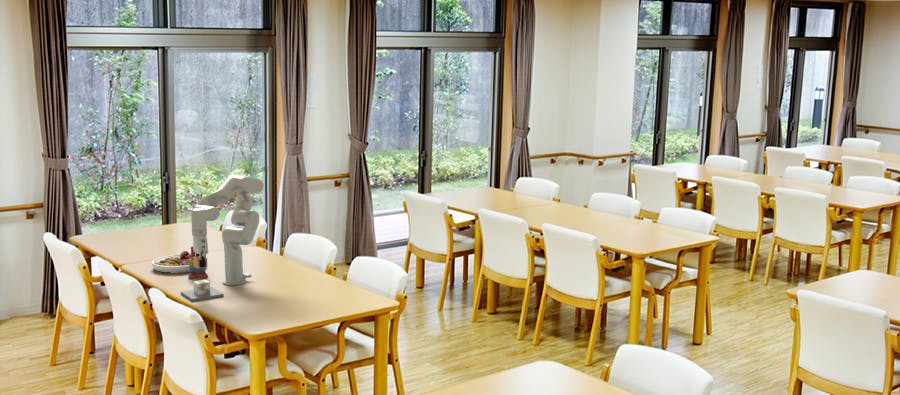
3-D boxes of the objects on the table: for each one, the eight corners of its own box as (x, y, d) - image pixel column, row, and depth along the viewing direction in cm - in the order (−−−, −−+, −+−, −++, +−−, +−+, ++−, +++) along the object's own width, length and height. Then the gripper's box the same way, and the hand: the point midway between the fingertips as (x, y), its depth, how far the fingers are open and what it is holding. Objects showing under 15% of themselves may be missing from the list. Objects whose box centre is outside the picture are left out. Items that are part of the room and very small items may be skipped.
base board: (211, 289, 502) (211, 286, 502) (223, 296, 488) (223, 293, 488) (180, 294, 492) (180, 291, 492) (192, 301, 479) (191, 298, 478)
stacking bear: (188, 279, 522) (186, 248, 519) (188, 275, 532) (186, 244, 529) (208, 278, 525) (206, 247, 522) (207, 273, 535) (206, 243, 532)
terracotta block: (203, 265, 491) (203, 255, 490) (207, 267, 487) (207, 257, 486) (193, 266, 488) (193, 257, 487) (197, 268, 484) (196, 259, 483)
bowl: (197, 275, 533) (197, 261, 532) (145, 274, 533) (144, 261, 532) (211, 262, 563) (210, 249, 561) (161, 262, 563) (160, 249, 562)
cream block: (205, 290, 495) (205, 279, 494) (210, 293, 489) (209, 282, 488) (193, 292, 491) (193, 281, 490) (198, 295, 486) (197, 283, 485)
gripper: (212, 234, 480) (213, 268, 483) (200, 228, 494) (201, 261, 496) (198, 235, 475) (199, 270, 478) (186, 230, 489) (187, 263, 492)
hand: (200, 265), depth 487 cm, fingers closed on terracotta block, 5 cm apart
